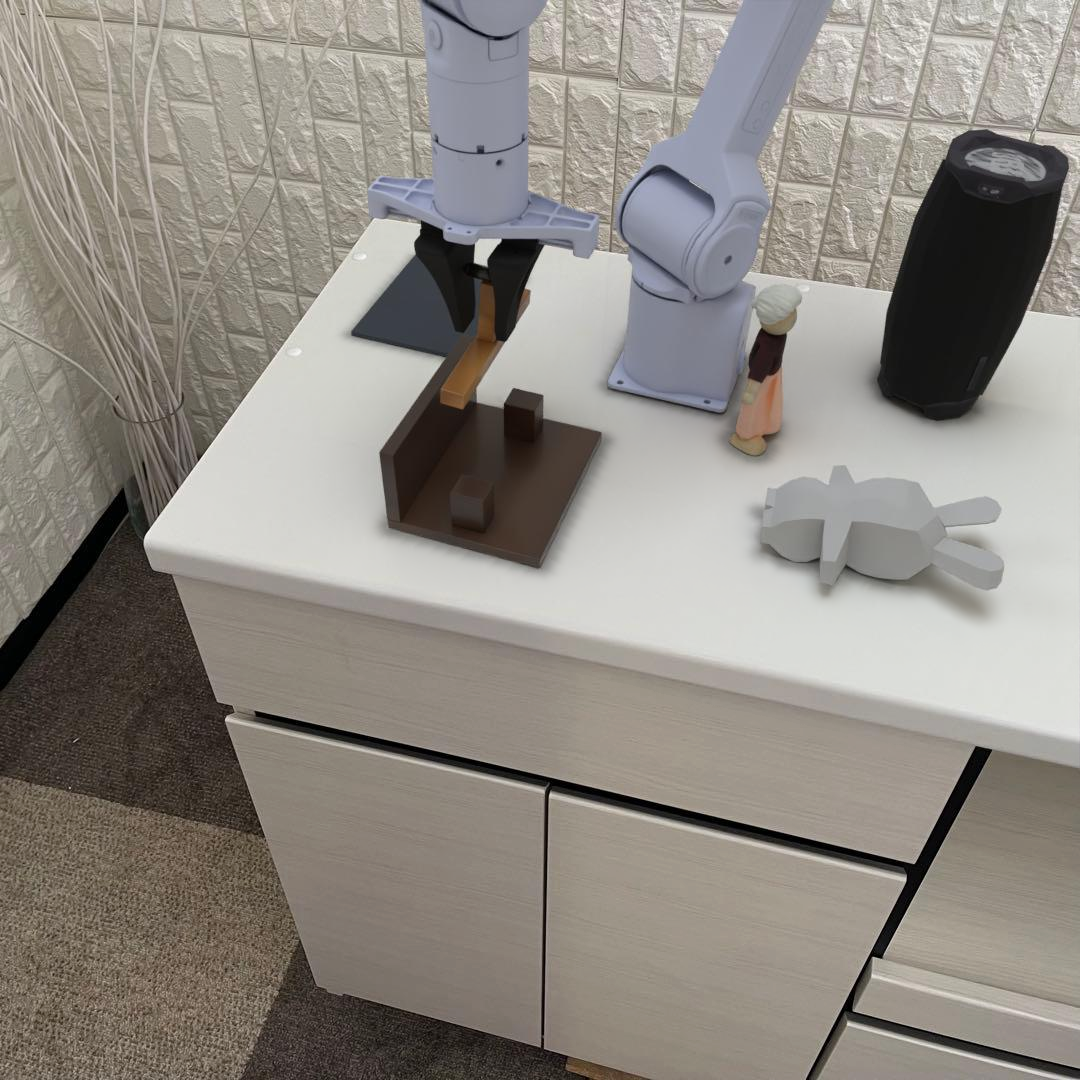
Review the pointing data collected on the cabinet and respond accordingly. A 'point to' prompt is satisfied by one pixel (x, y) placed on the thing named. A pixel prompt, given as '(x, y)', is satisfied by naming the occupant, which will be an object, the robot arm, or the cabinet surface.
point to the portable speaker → (969, 270)
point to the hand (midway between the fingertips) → (484, 328)
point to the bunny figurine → (876, 529)
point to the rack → (483, 470)
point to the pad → (414, 314)
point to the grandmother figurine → (766, 368)
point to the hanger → (478, 343)
